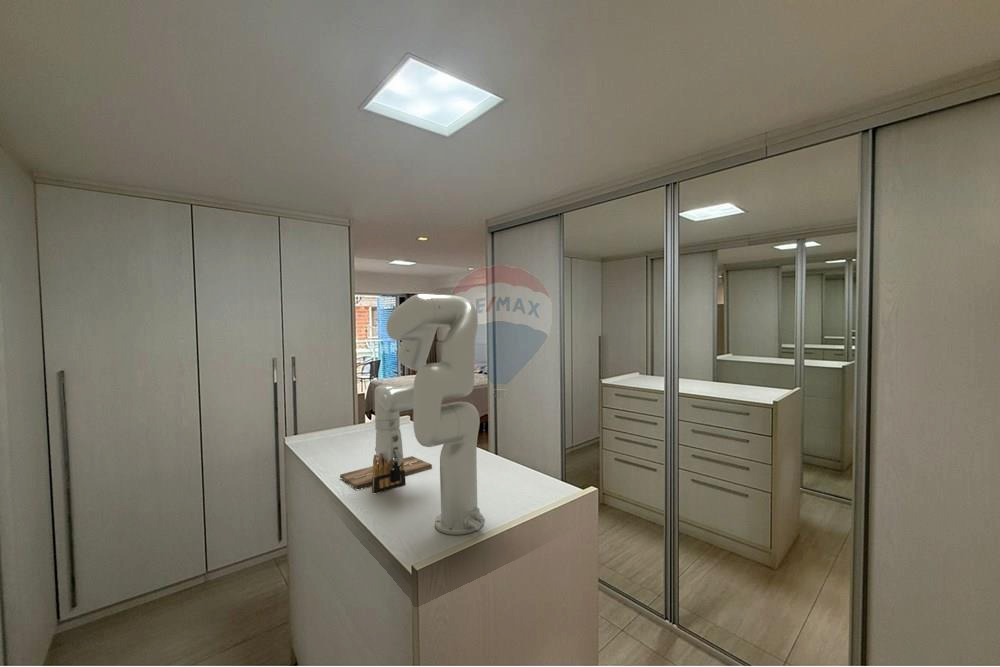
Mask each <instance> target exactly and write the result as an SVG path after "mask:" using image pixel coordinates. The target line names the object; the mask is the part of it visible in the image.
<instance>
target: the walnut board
mask: <svg viewBox="0 0 1000 667" xmlns="http://www.w3.org/2000/svg"><path fill="white" fill-rule="evenodd" d="M403 460H404V470H405V477H407V476H412V475H415V474H418V473H421V472H425V471H428V470H432V469H433V467H432V466H433V464H432V463H430V462H427V461H424V460H422V459H420V458H417V457H415V456H412V455H410V456H408V457H403ZM393 464H394V462H393ZM388 465H389V462H388ZM377 466H378V464H377ZM372 476H373V465H372V466H369V467H368V466H367V467H364V468H361V469H356V470H353V471H348V472H346V473H345V472H344V473H341V474H339V479H340V478H342V479H343V480H344V481H346V482H347V483H348V484H347V483H346V482H345V483H346V484H347V485H349V484H350V485H351V487H352V486H353V487H354V488H353V487H352V488H353V489H355V488H356V489H360V490H362V489H361V488H363V489H366V488H365V487H367V488H369V486H370V487H372ZM343 480H342V481H343ZM344 481H343V482H344ZM350 485H349V486H350ZM356 489H355V490H356Z"/></svg>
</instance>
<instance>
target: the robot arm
mask: <svg viewBox="0 0 1000 667" xmlns="http://www.w3.org/2000/svg"><path fill="white" fill-rule="evenodd" d="M478 323H479V321H478V312H477V309H476V307H475V305H474V303H472V302H471V301H470V300H469V299H468V298H465V297H463V296H460V295H451V294H431V293H417V294H414V295H412V296H410V297H409V298H407V299H406V300H405V301H403V302H402V303H401V304H400V305H399V304H398V306H397V307H396V308H394V309H393V310H392V311H391V313H390V314H389V316H388V317H387V321H386V334H387V335H388V337H389V338H390V339H391V340H394V341H401V343H400V346H399V349H398V353H397V360H398V361H399V363H400V364H401V365H403V366H404V367H406V368H408V369H411V370H413V371H416V374H415V376H414V380H413V384H409V385H400V386H398V385H396V384H380V385H378V386H376V387H375V389H374V417H375V418H374V420H375V422H374V423H375V424H374V425H375V431H376V432H375V447H374V451H375V455H376V457H377V464H378V462H379V454H380V453H381V455H382V462H383V465H384V460H386V461H388V462H389V463H390V467H391V470H390V482H391V483H394V482H397V481H400V468H401V464H402V461H403V458H404V453H403V452H404V451H403V439H402V433H401V427H400V426H401V425H400V424H401V423H400V422H401V421H400V418H401V417H400V412H405V411H409V410H412V411H413V412H412V413H413V416H412V417H413V418H412V419H413V421H412V422H413V423H412V424H413V431H414V432H413V433H414V437H415V438H416V440H417V442H418V443H419V444H420V446H422V447H425V448H426V447H427V448H432V447H436V446H441V445H442V447H441V451H440V454H439V455H440V456H439V479H440V480H439V481H440V482H439V484H440V489H439V490H440V514H438V515H437V516H436V518H435V520H434V524H435V528H436V529H437V530H438V531H439V532H441V533H443V534H447V535H454V536H455V535H466V534H470V533H473V532H475V531H479V530H480V529H481V527H482V526H483V525H484V524H485V522H486V519H485V518H484V515H483V514H482V513H481V512H480V508H479V507H478V472H477V469H478V468H477V466H478V465H477V459H478V458H477V449H478V448H477V447H478V444H477V443H478V437H479V436H478V435H479V431H480V424H481V423H480V421H481V420H480V413H479V411H478V409H477V407H475V405H474V404H472V403H470V402H467V401H456V402H449V403H444V404H442V403H443V401H444V402H445V401H448V400H453V399H454V400H455V399H461V398H463V397H467V396H469V395H470V394H471V393H472V392H473V389H474V385H475V362H476V360H475V359H476V357H475V356H476V353H475V349H476V348H475V347H476V345H475V344H476V336H477V331H478ZM443 327H445V328H447V327H448V328H449V329H448V331H447V332H446V333H445V335H444V338H443V340H442V343H441V359H440V362H431V363H427V360H428V357H429V354H430V351H431V348H432V346H433V342H434V340H435V335H436V334H437V329H438V328H443ZM392 458H393V460H392ZM394 458H396V459H394ZM395 461H396V463H395V464H394V465H393V462H395Z"/></svg>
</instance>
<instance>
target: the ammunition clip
mask: <svg viewBox="0 0 1000 667" xmlns="http://www.w3.org/2000/svg"><path fill="white" fill-rule="evenodd" d="M393 459H396V458H392V460H393ZM395 463H396V461H395V462H394V464H395ZM394 464H393V465H394ZM377 465H378V466H377ZM372 466H373V476H372V486H371V493H373V494H374V493H376V494H378V492H379V493H383V492H386V490H387V491H389V490H393V489H396V488H400V487H405V486H406V485H407V483H406V476H405V470H404V460H403V461H402V464H401V468H400V481H397V482H394V483H391V482H390V470H391V467H390V463H389V465H388V461H386V460H384V465H383V462H382V455H381V453H380V454H379V462H378V463H377V457H376V454H374V455H373V460H372Z"/></svg>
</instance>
